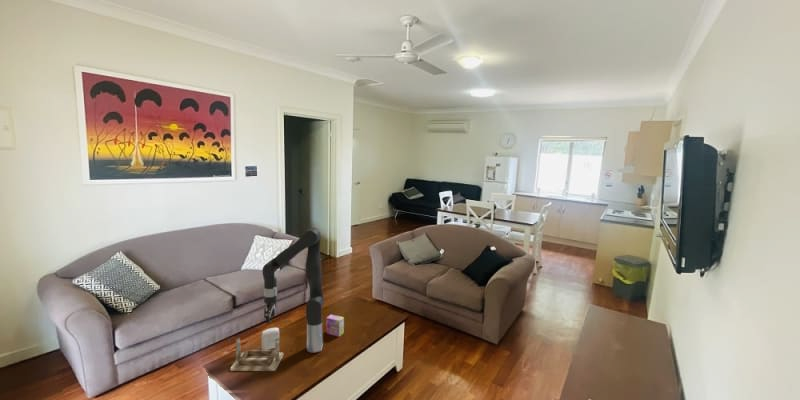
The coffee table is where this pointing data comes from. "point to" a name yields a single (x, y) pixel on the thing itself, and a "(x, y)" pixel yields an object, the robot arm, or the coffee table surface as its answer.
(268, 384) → the coffee table surface
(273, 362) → the beige hollow frame piece
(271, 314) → the robot arm
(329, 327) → the box
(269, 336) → the photo printer
